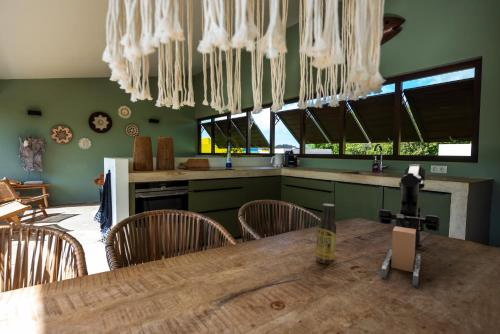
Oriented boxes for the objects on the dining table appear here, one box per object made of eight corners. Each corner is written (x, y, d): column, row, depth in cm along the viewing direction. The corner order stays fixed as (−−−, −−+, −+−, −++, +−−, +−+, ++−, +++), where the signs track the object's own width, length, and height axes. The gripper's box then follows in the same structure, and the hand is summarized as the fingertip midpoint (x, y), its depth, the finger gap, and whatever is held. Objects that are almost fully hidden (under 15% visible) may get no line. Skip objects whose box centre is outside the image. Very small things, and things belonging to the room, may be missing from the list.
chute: (389, 259, 97) (390, 248, 97) (420, 266, 92) (420, 254, 92) (380, 281, 81) (381, 268, 81) (417, 290, 76) (418, 276, 76)
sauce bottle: (312, 261, 95) (314, 204, 94) (321, 256, 100) (322, 201, 99) (330, 266, 91) (332, 207, 90) (338, 261, 95) (340, 204, 94)
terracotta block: (393, 261, 93) (395, 226, 92) (414, 265, 90) (415, 229, 89) (391, 267, 88) (392, 230, 88) (412, 272, 85) (414, 233, 84)
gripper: (438, 219, 104) (437, 257, 95) (383, 213, 114) (378, 246, 105) (440, 201, 97) (438, 240, 88) (381, 196, 107) (375, 230, 98)
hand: (405, 240), depth 95 cm, fingers closed
